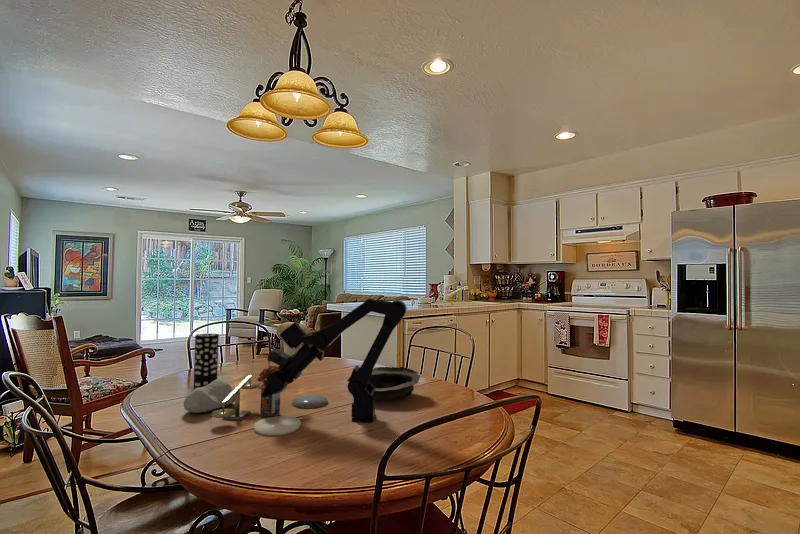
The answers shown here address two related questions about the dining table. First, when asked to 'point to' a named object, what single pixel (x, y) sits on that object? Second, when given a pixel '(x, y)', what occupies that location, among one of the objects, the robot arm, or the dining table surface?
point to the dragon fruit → (266, 373)
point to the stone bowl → (393, 382)
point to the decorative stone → (208, 397)
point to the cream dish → (277, 425)
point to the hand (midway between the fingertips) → (266, 393)
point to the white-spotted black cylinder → (205, 359)
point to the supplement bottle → (269, 403)
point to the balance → (236, 402)
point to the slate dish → (309, 401)
